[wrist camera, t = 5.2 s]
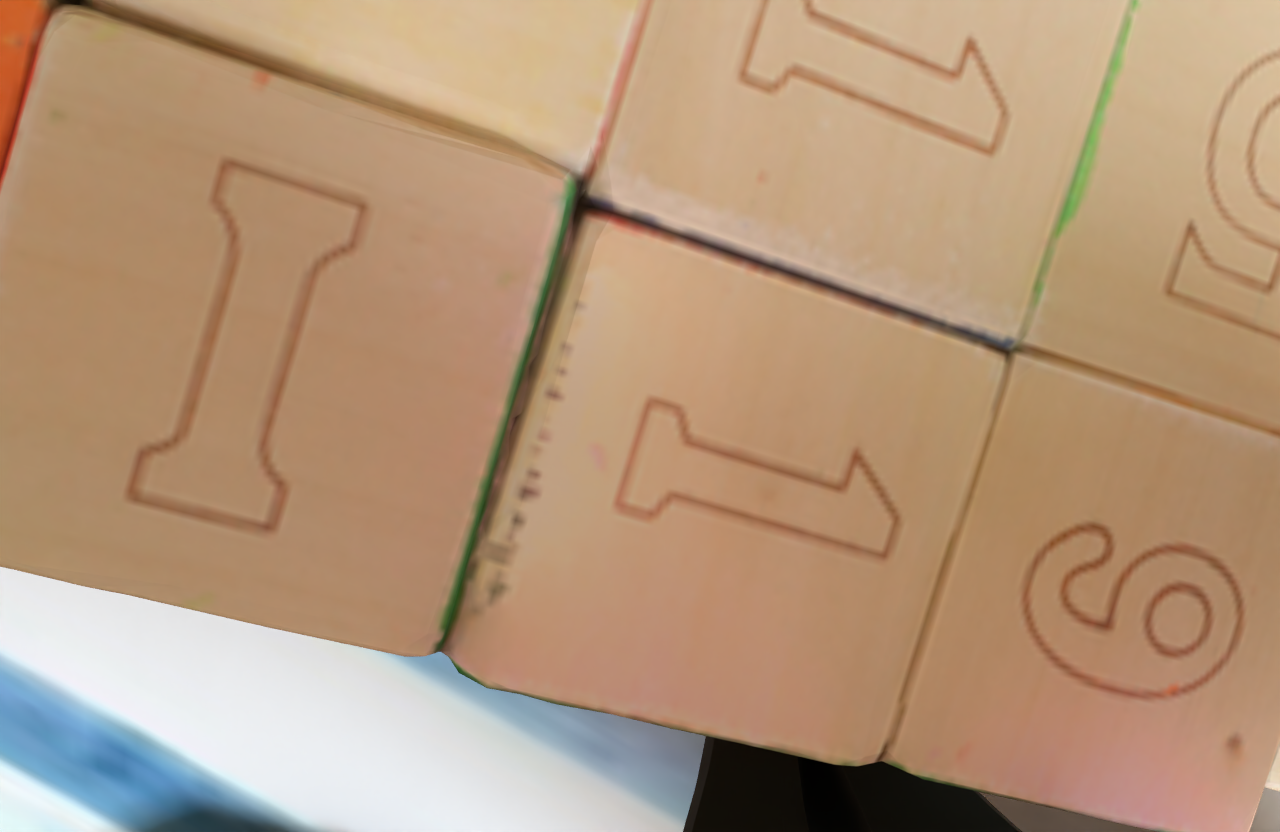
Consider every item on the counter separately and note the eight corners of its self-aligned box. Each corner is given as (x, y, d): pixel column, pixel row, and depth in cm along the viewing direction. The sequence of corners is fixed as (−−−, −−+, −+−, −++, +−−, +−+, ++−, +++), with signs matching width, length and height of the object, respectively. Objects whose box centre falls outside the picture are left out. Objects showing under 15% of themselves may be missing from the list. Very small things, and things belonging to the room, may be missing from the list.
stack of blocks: (1260, 355, 23) (2269, 432, 11) (1153, 663, 23) (2029, 1078, 11) (105, -97, 17) (-479, -970, 5) (-22, 311, 17) (-864, 366, 5)
